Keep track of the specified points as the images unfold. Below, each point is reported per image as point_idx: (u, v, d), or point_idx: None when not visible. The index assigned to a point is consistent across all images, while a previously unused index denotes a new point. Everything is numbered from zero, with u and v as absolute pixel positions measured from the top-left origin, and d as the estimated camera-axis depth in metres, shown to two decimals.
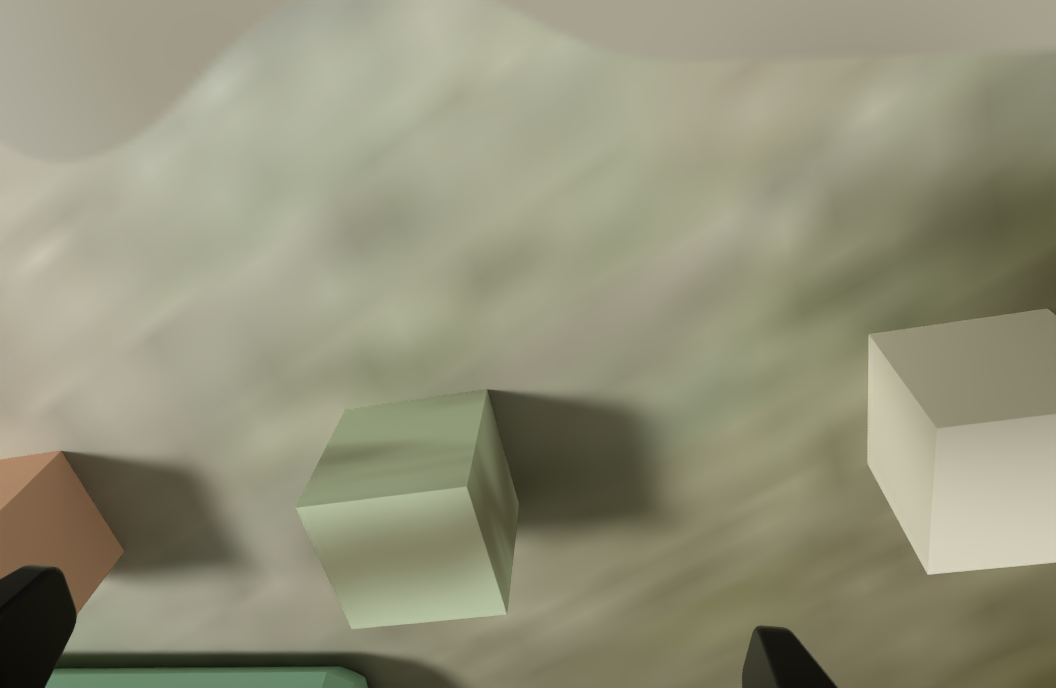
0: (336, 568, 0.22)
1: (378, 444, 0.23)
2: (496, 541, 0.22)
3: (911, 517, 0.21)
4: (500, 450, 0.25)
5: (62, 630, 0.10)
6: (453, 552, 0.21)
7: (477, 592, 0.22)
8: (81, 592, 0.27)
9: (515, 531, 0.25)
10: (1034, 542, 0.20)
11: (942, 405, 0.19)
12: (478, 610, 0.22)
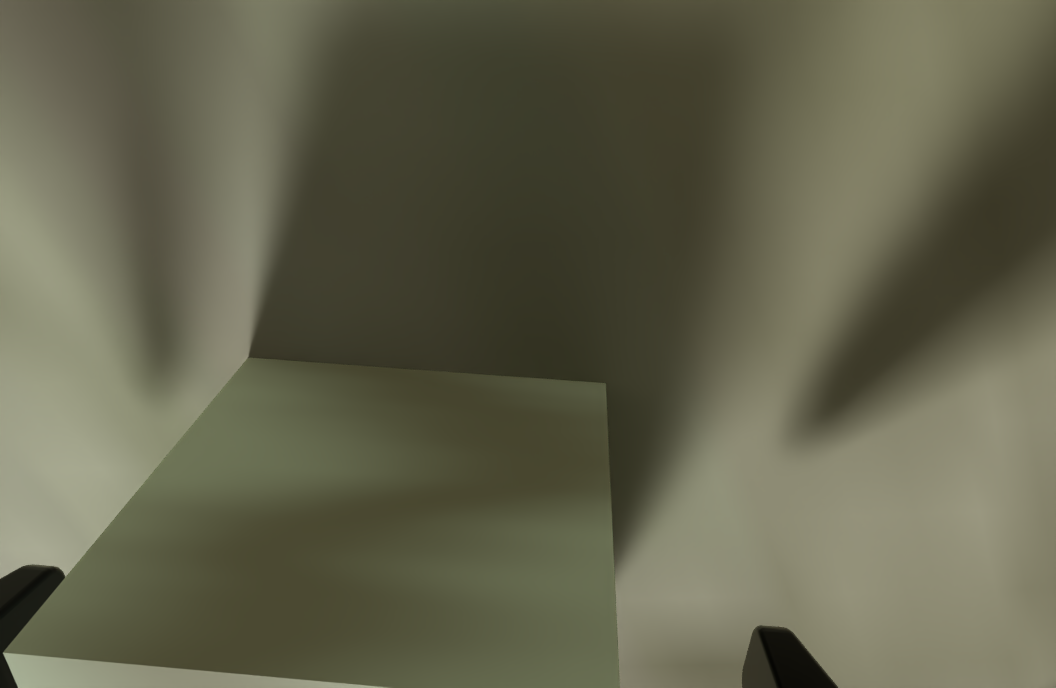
0: None
1: None
2: (408, 581, 0.07)
3: None
4: (394, 386, 0.10)
5: None
6: None
7: None
8: None
9: (601, 445, 0.09)
10: None
11: None
12: None
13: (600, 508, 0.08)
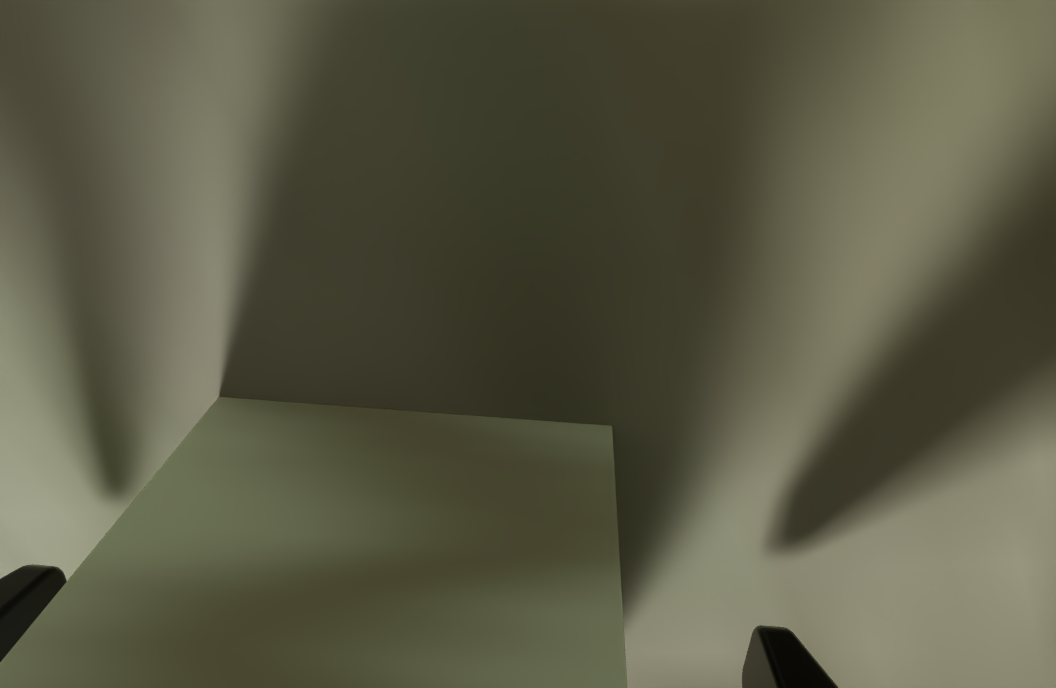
0: None
1: None
2: (387, 678, 0.06)
3: None
4: (378, 430, 0.09)
5: None
6: None
7: None
8: None
9: (608, 502, 0.08)
10: None
11: None
12: None
13: (608, 581, 0.07)
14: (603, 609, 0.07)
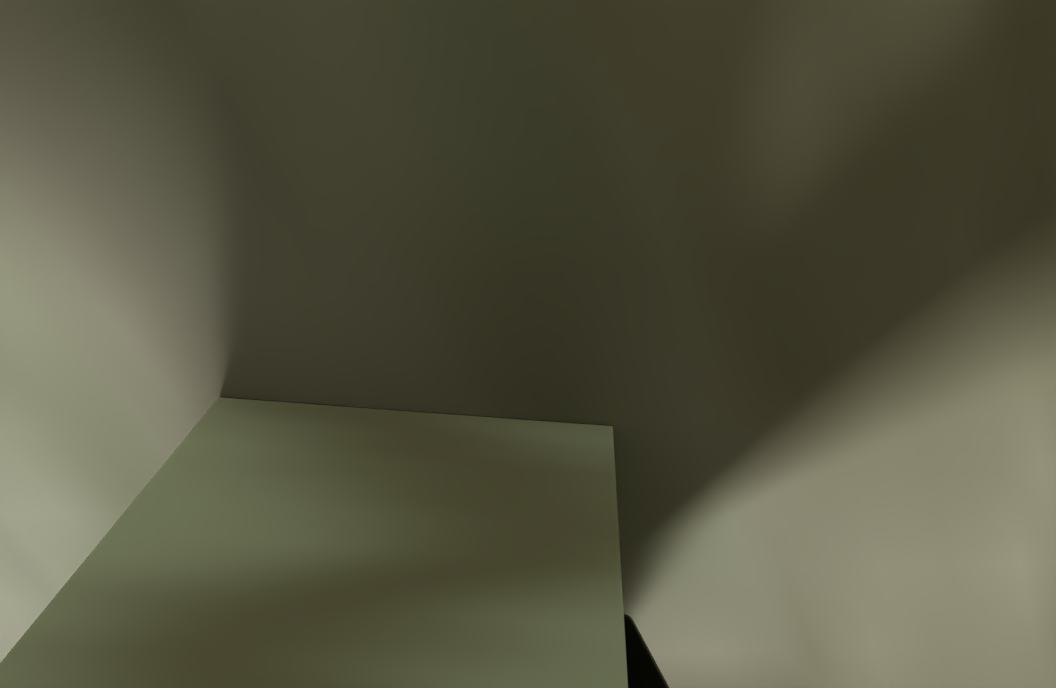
0: None
1: None
2: None
3: None
4: (377, 435, 0.09)
5: None
6: None
7: None
8: None
9: (609, 508, 0.08)
10: None
11: None
12: None
13: (609, 589, 0.07)
14: (604, 618, 0.06)
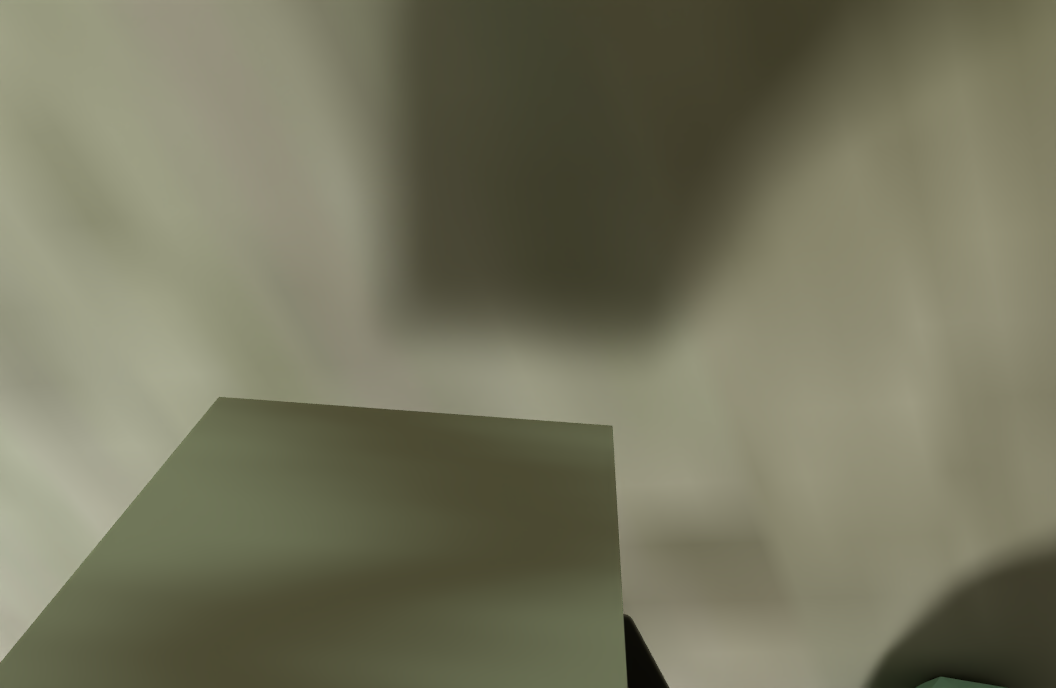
0: None
1: None
2: None
3: None
4: (377, 434, 0.09)
5: None
6: None
7: None
8: None
9: (608, 507, 0.08)
10: None
11: None
12: None
13: (608, 588, 0.07)
14: (603, 617, 0.07)
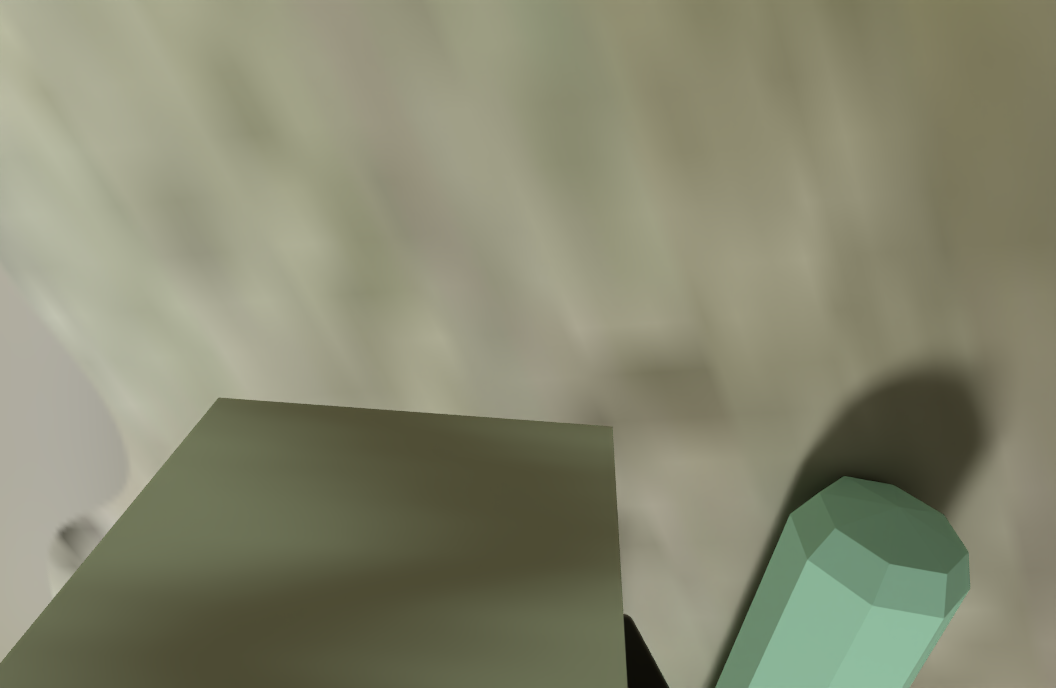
0: None
1: None
2: None
3: None
4: (376, 435, 0.09)
5: None
6: None
7: None
8: None
9: (608, 508, 0.08)
10: None
11: None
12: None
13: (608, 589, 0.07)
14: (603, 618, 0.07)
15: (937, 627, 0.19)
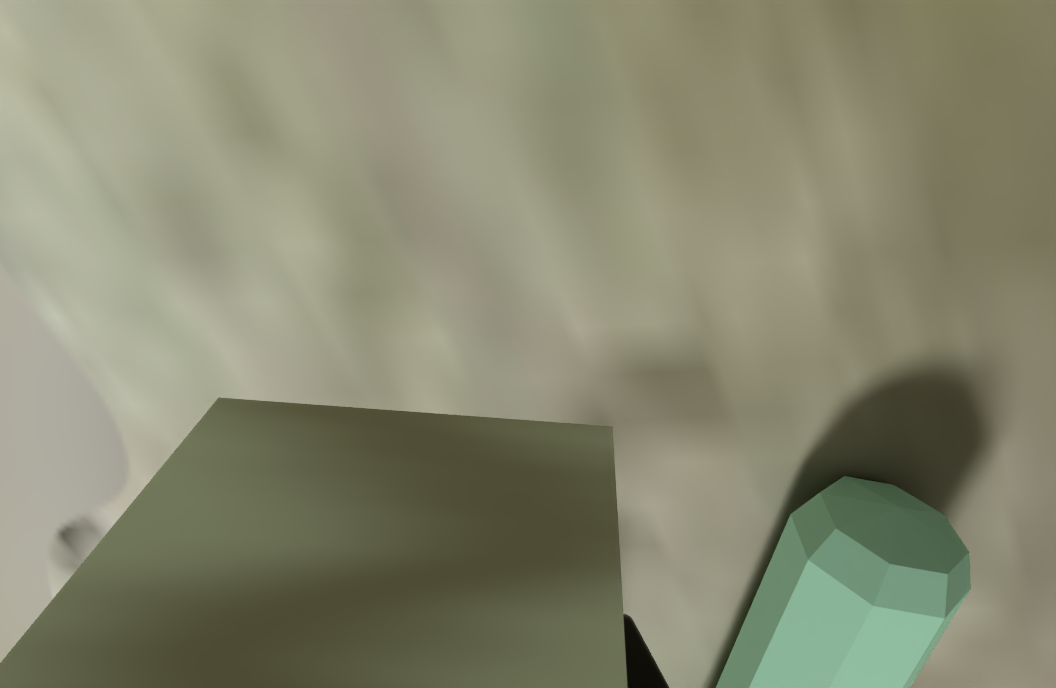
0: None
1: None
2: None
3: None
4: (376, 435, 0.09)
5: None
6: None
7: None
8: None
9: (608, 508, 0.08)
10: None
11: None
12: None
13: (608, 589, 0.07)
14: (604, 618, 0.07)
15: (938, 627, 0.19)
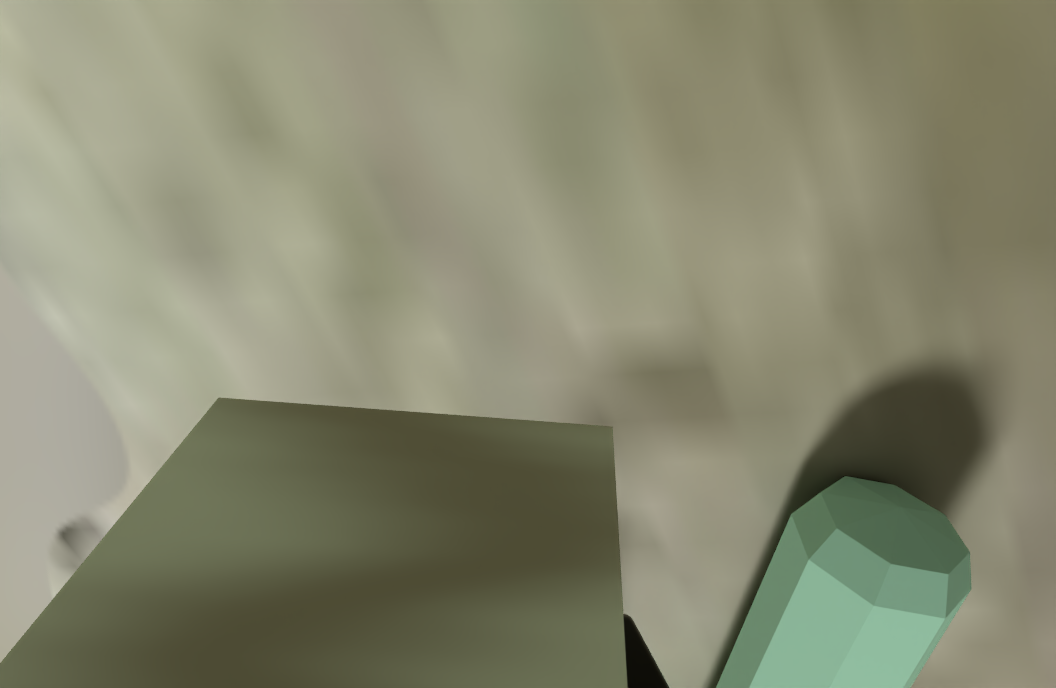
0: None
1: None
2: None
3: None
4: (376, 435, 0.09)
5: None
6: None
7: None
8: None
9: (608, 508, 0.08)
10: None
11: None
12: None
13: (608, 589, 0.07)
14: (604, 618, 0.07)
15: (938, 627, 0.19)
